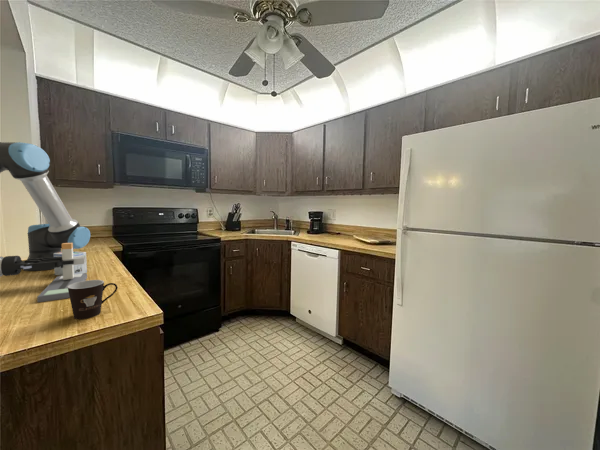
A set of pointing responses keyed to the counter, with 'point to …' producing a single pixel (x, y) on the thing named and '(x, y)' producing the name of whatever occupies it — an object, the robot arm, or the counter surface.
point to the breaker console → (59, 288)
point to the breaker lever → (67, 254)
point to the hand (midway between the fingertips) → (85, 259)
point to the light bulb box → (77, 268)
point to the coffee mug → (87, 298)
